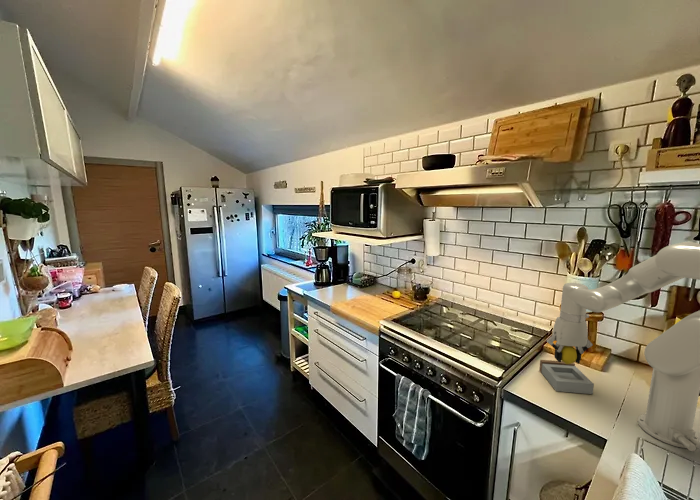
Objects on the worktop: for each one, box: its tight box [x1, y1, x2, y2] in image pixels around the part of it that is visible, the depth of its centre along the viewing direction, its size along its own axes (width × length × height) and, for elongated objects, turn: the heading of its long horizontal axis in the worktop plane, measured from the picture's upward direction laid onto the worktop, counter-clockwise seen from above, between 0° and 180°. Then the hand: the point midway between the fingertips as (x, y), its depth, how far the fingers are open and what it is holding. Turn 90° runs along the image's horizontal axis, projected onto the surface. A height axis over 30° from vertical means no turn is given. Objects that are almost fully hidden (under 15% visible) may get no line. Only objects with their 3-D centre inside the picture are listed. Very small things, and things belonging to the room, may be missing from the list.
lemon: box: [561, 346, 577, 364], centre depth 112 cm, size 6×6×8 cm
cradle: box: [541, 364, 595, 395], centre depth 113 cm, size 12×12×4 cm
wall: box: [538, 359, 576, 374], centre depth 120 cm, size 2×12×5 cm, turn 80°
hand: (567, 360), depth 112 cm, fingers closed on lemon, 5 cm apart
